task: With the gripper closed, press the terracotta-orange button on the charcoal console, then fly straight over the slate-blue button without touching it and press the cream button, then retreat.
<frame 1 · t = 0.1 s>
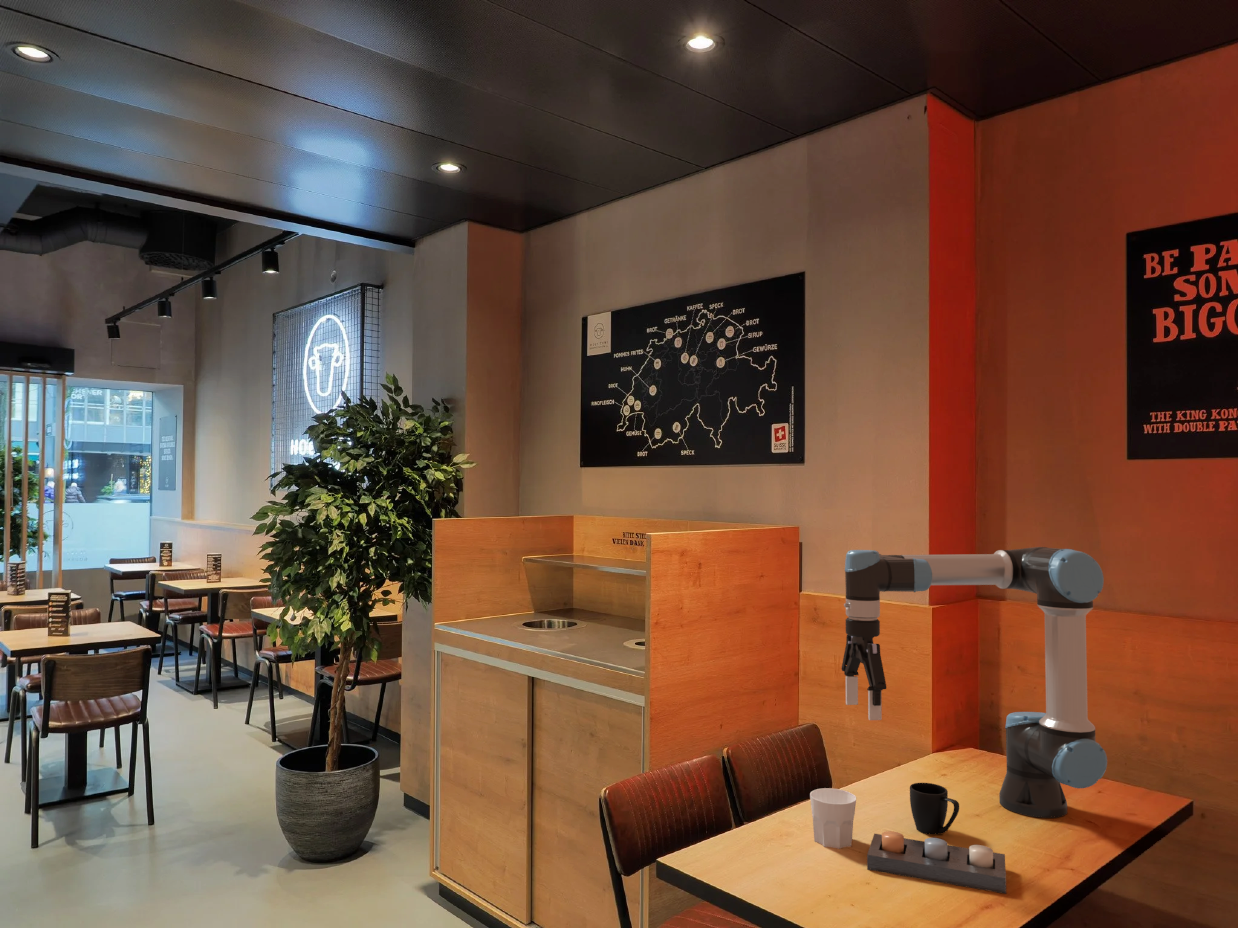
hand: (863, 711, 191), 28 cm above the table, fingers open, 13 cm apart
cup: (833, 841, 187), on the table
button slate: (936, 850, 173), point 4 cm above the table, slide at 0.0 cm
mug: (935, 833, 192), on the table
button cream: (981, 858, 170), point 4 cm above the table, slide at 0.0 cm
console: (936, 868, 173), on the table
button orange: (892, 843, 177), point 4 cm above the table, slide at 0.0 cm
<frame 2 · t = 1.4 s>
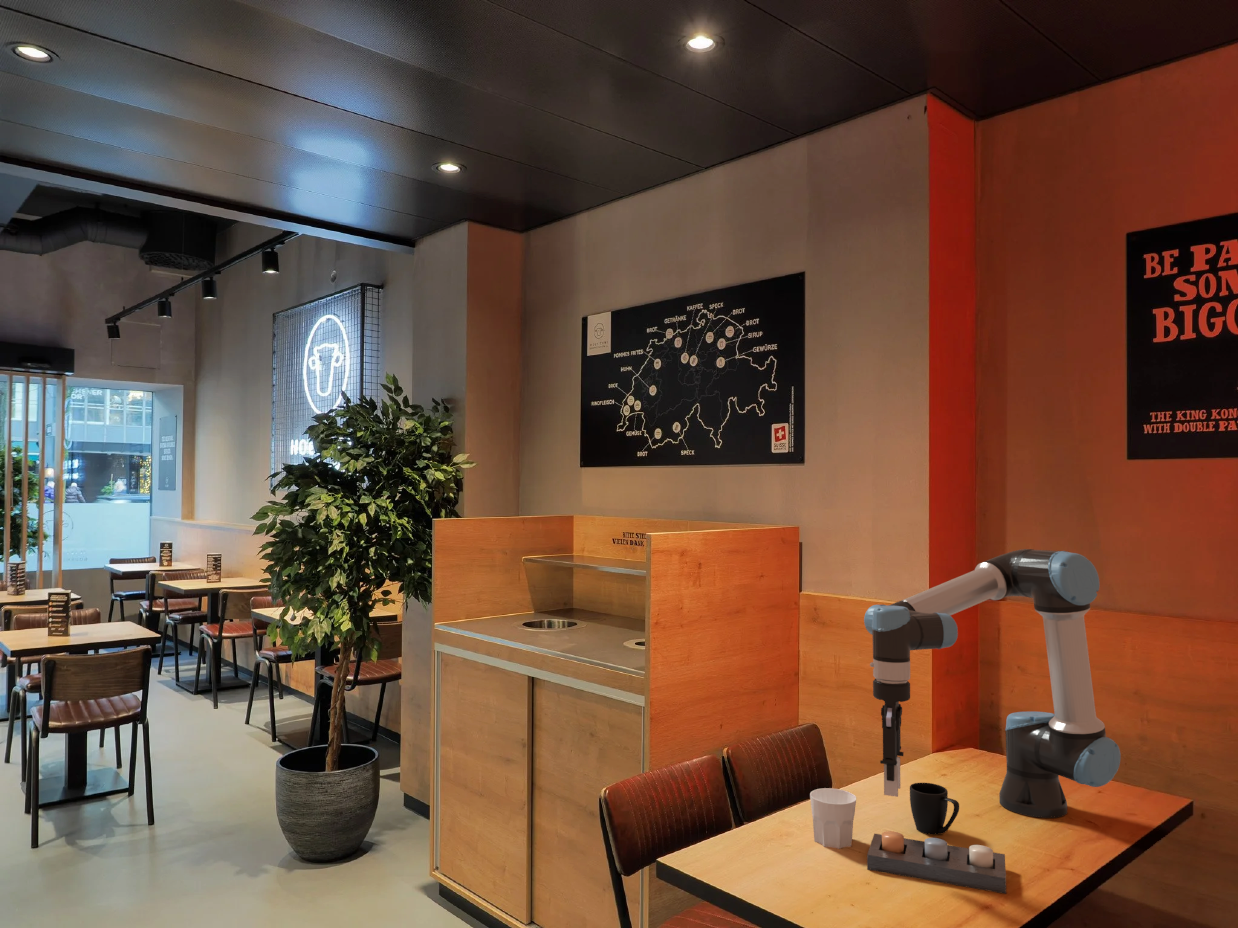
hand: (892, 790, 177), 15 cm above the table, fingers open, 4 cm apart
nothing on the table moved.
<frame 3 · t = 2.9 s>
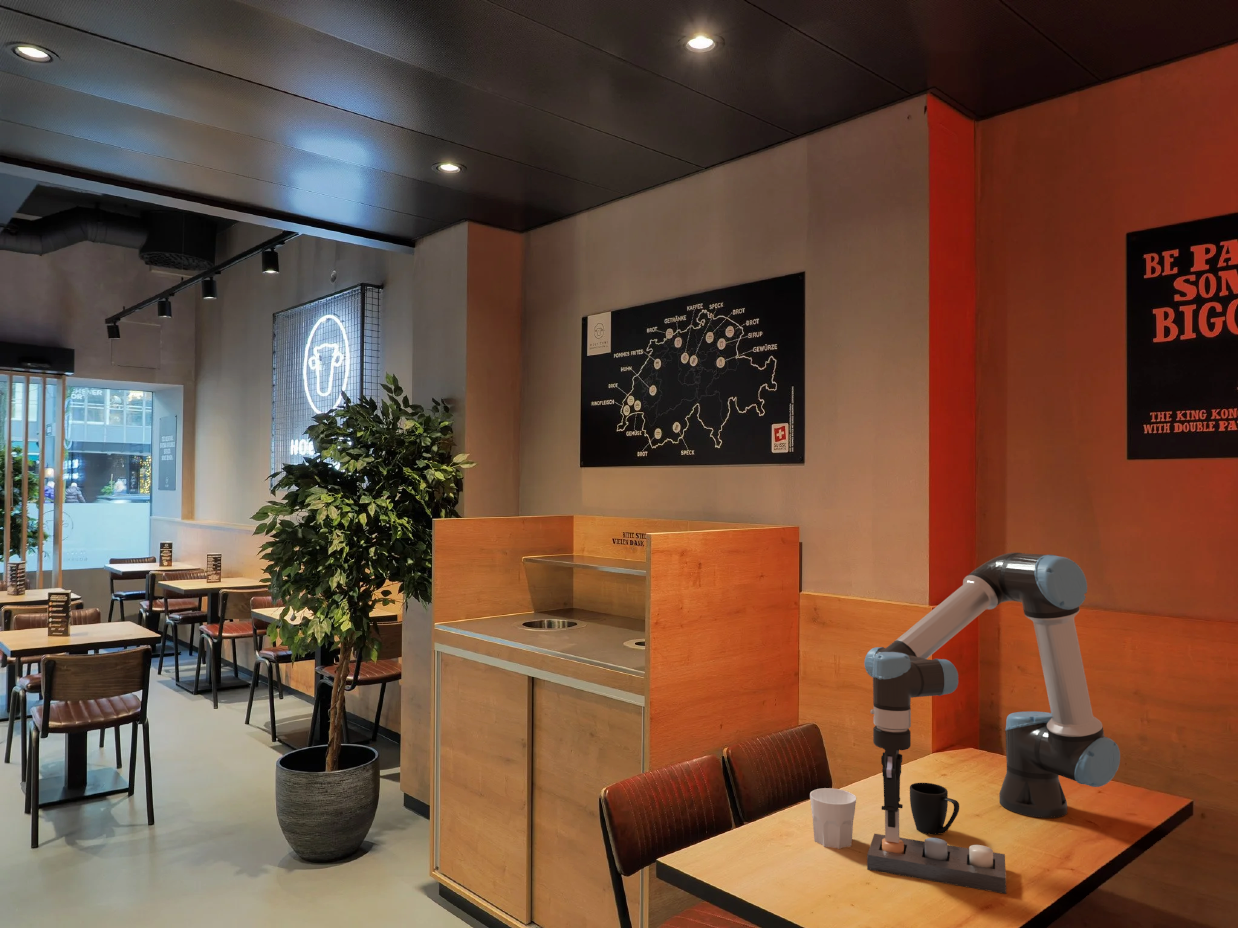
hand: (892, 840, 177), 4 cm above the table, fingers closed
button orange: (892, 850, 177), point 2 cm above the table, slide at 1.3 cm, touching gripper
everything else where it was.
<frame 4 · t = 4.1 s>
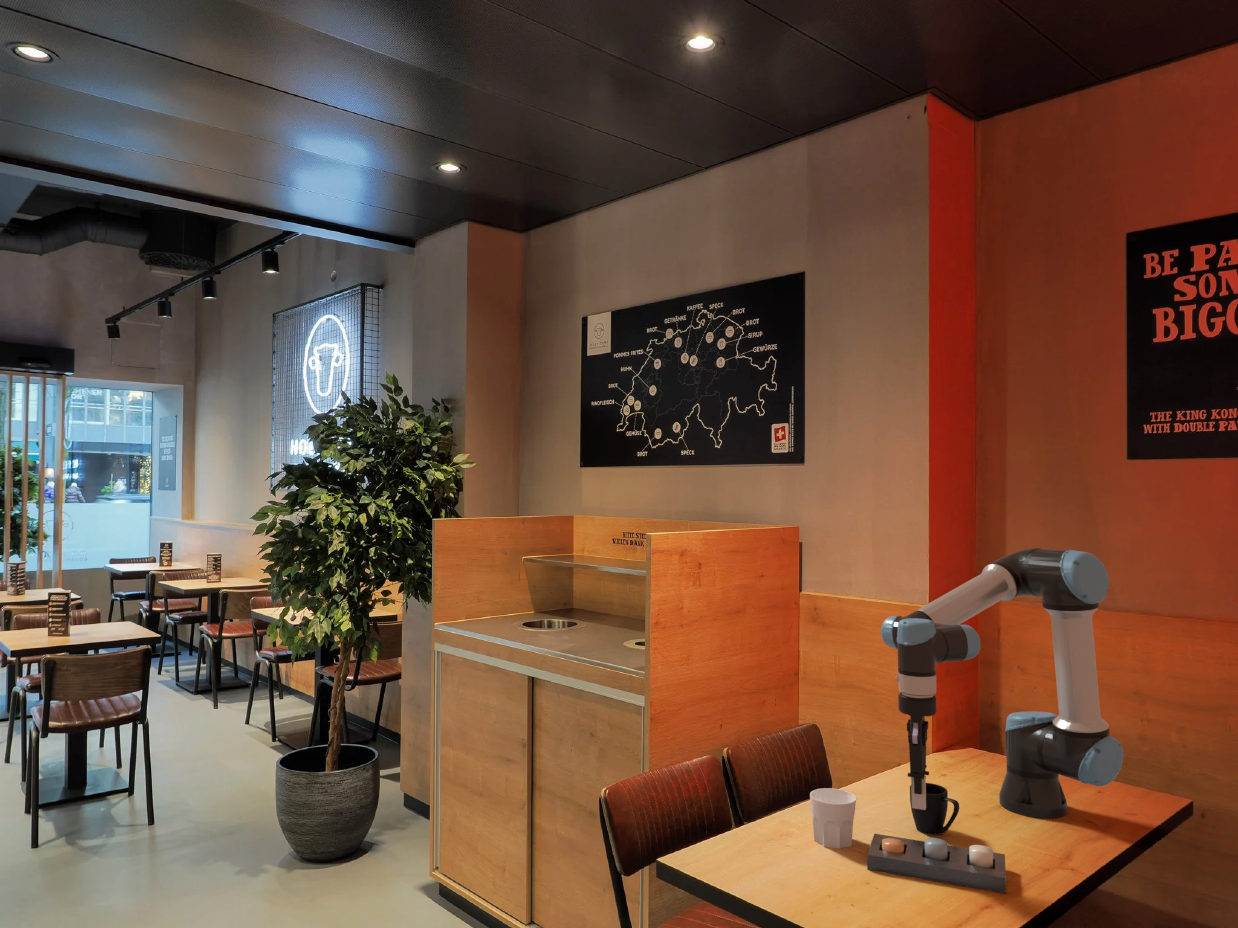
hand: (918, 807, 175), 12 cm above the table, fingers closed
button orange: (892, 850, 177), point 2 cm above the table, slide at 1.4 cm
everything else where it was.
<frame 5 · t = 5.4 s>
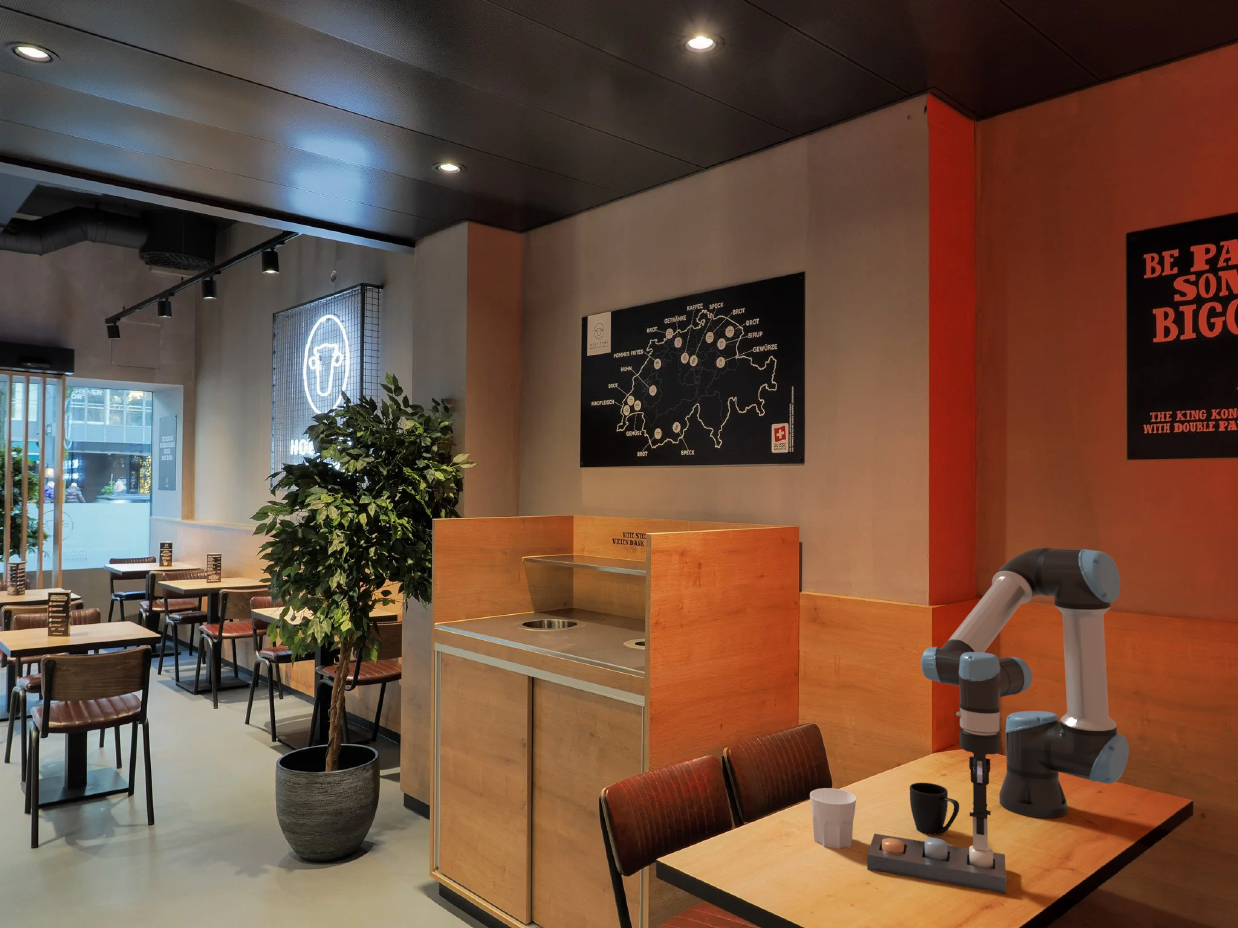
hand: (980, 848, 170), 6 cm above the table, fingers closed
button cream: (981, 858, 170), point 4 cm above the table, slide at 0.0 cm, touching gripper
everything else where it was.
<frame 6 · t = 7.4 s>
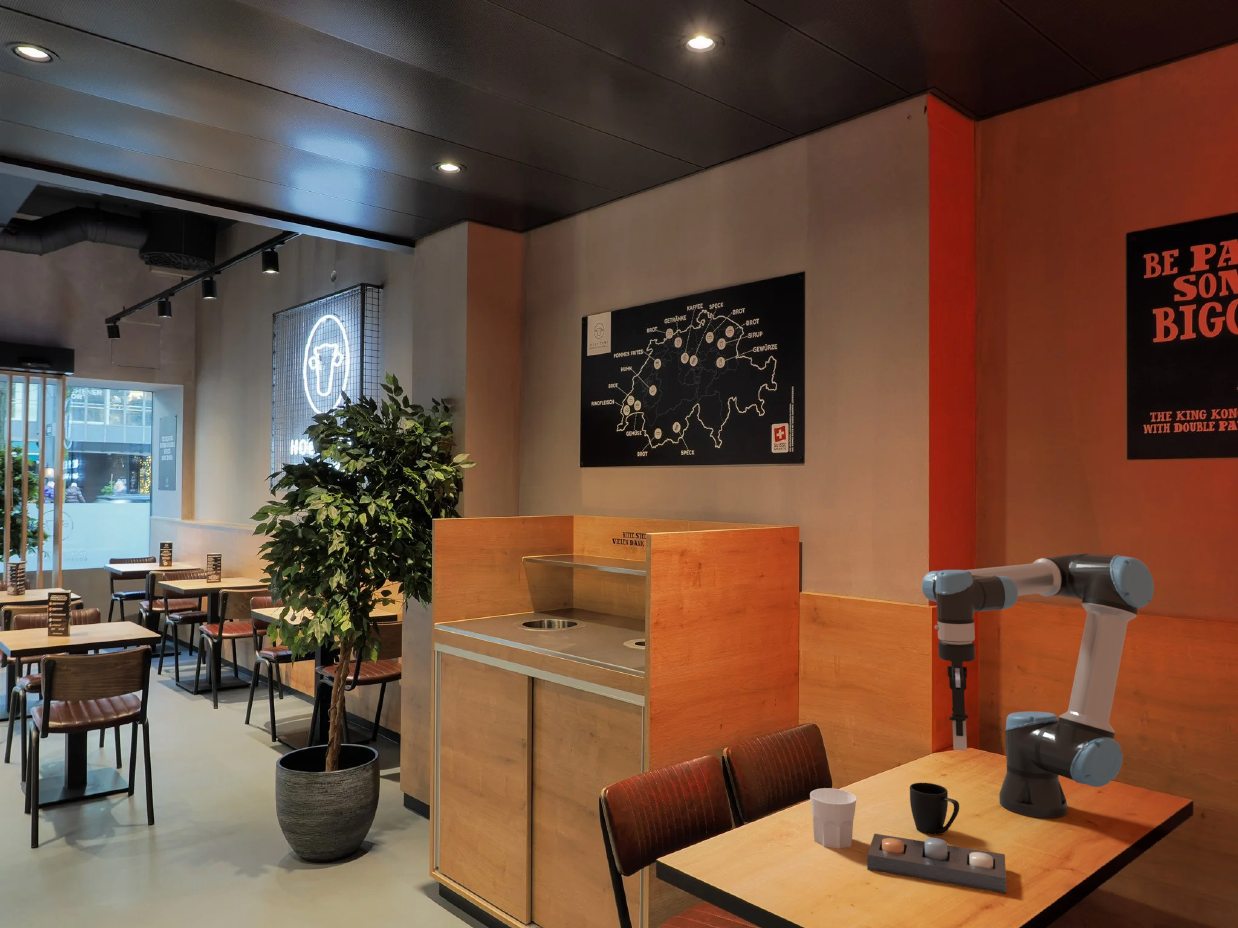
hand: (960, 749, 184), 22 cm above the table, fingers closed
button cream: (981, 865, 170), point 2 cm above the table, slide at 1.5 cm
everything else where it was.
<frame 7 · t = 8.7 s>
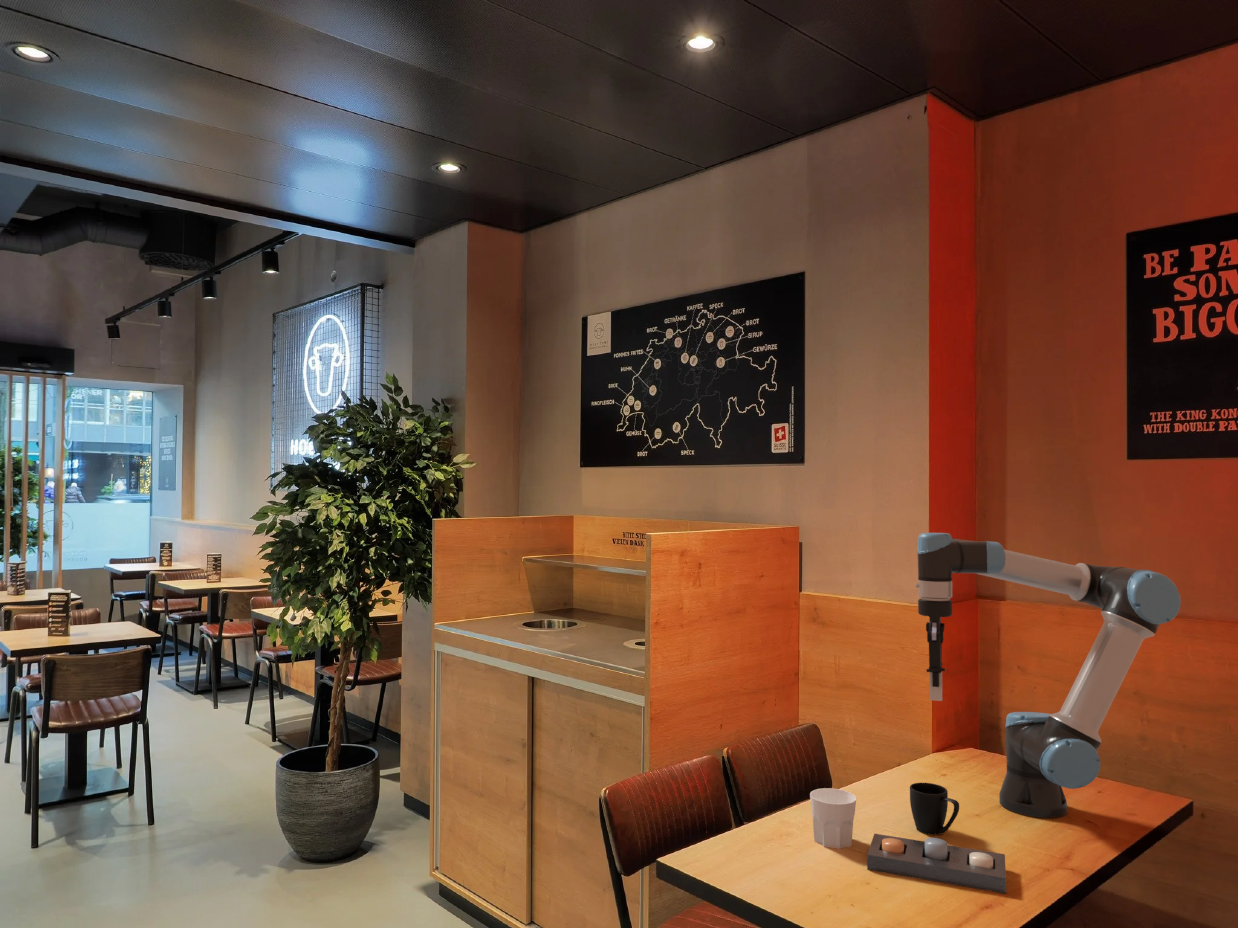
hand: (936, 699, 196), 29 cm above the table, fingers closed
nothing on the table moved.
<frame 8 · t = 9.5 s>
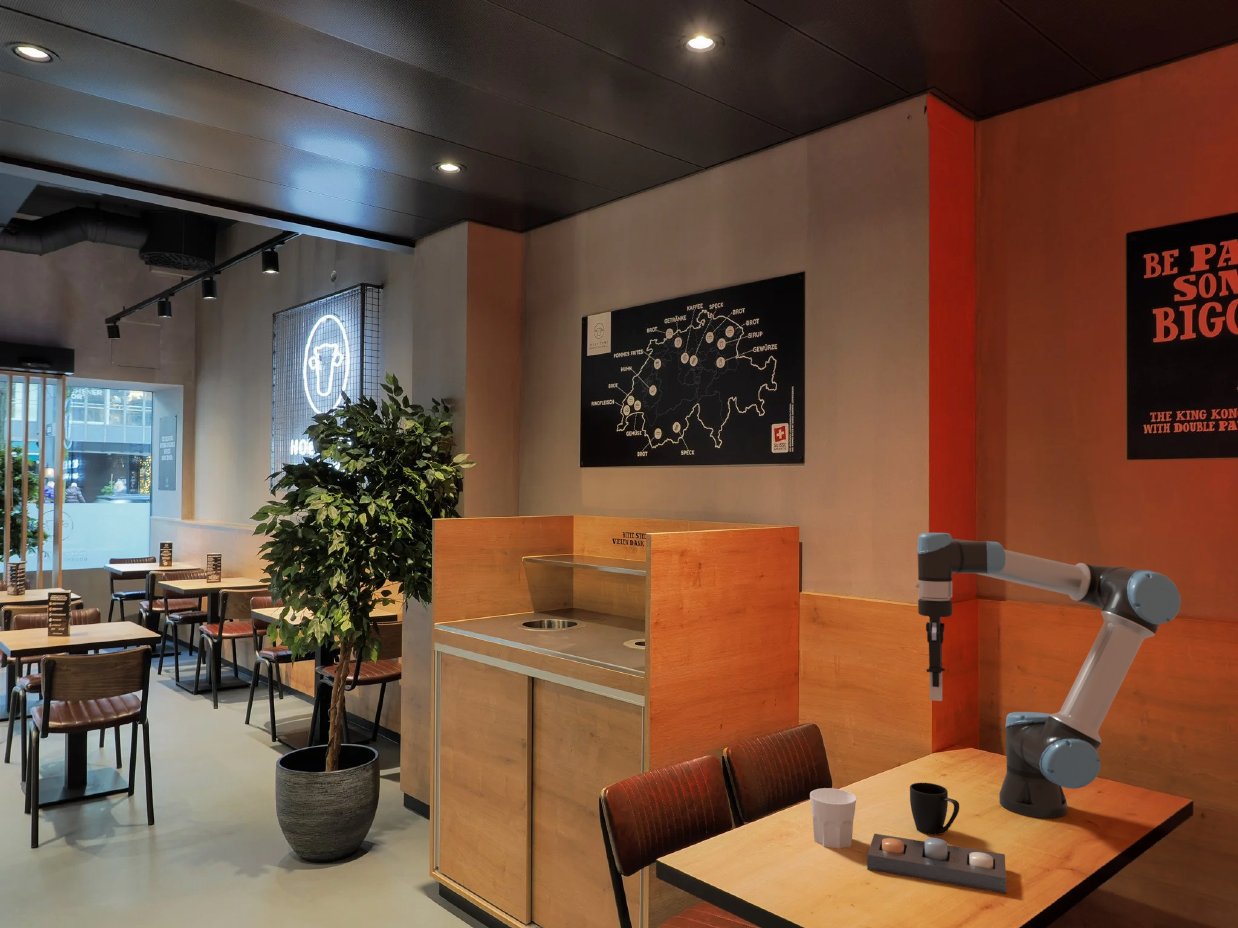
hand: (936, 699, 196), 29 cm above the table, fingers closed
nothing on the table moved.
at the end: button orange slide at 1.4 cm; button cream slide at 1.5 cm; button slate slide at 0.0 cm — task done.
